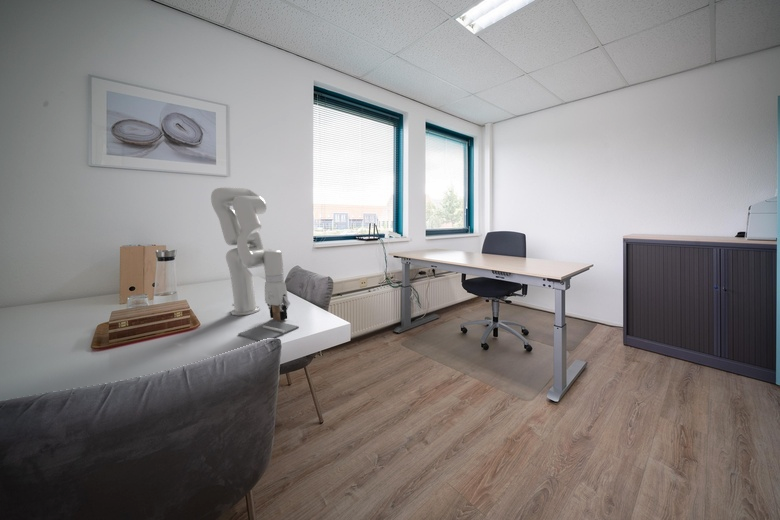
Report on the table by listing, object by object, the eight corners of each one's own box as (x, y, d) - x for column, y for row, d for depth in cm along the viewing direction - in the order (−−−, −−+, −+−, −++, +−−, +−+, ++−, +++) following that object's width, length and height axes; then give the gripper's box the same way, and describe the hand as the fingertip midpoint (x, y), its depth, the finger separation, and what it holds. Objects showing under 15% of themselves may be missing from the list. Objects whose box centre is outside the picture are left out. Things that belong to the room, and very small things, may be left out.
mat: (238, 335, 114) (237, 331, 114) (273, 321, 128) (272, 318, 128) (264, 342, 106) (263, 338, 106) (298, 327, 120) (298, 323, 119)
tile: (273, 319, 131) (271, 304, 130) (276, 318, 133) (274, 303, 132) (282, 321, 128) (280, 305, 127) (285, 320, 130) (283, 304, 129)
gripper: (254, 278, 129) (259, 318, 132) (280, 281, 120) (285, 324, 123) (269, 275, 135) (273, 313, 138) (295, 278, 126) (299, 318, 129)
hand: (278, 317), depth 130 cm, fingers closed on tile, 6 cm apart
